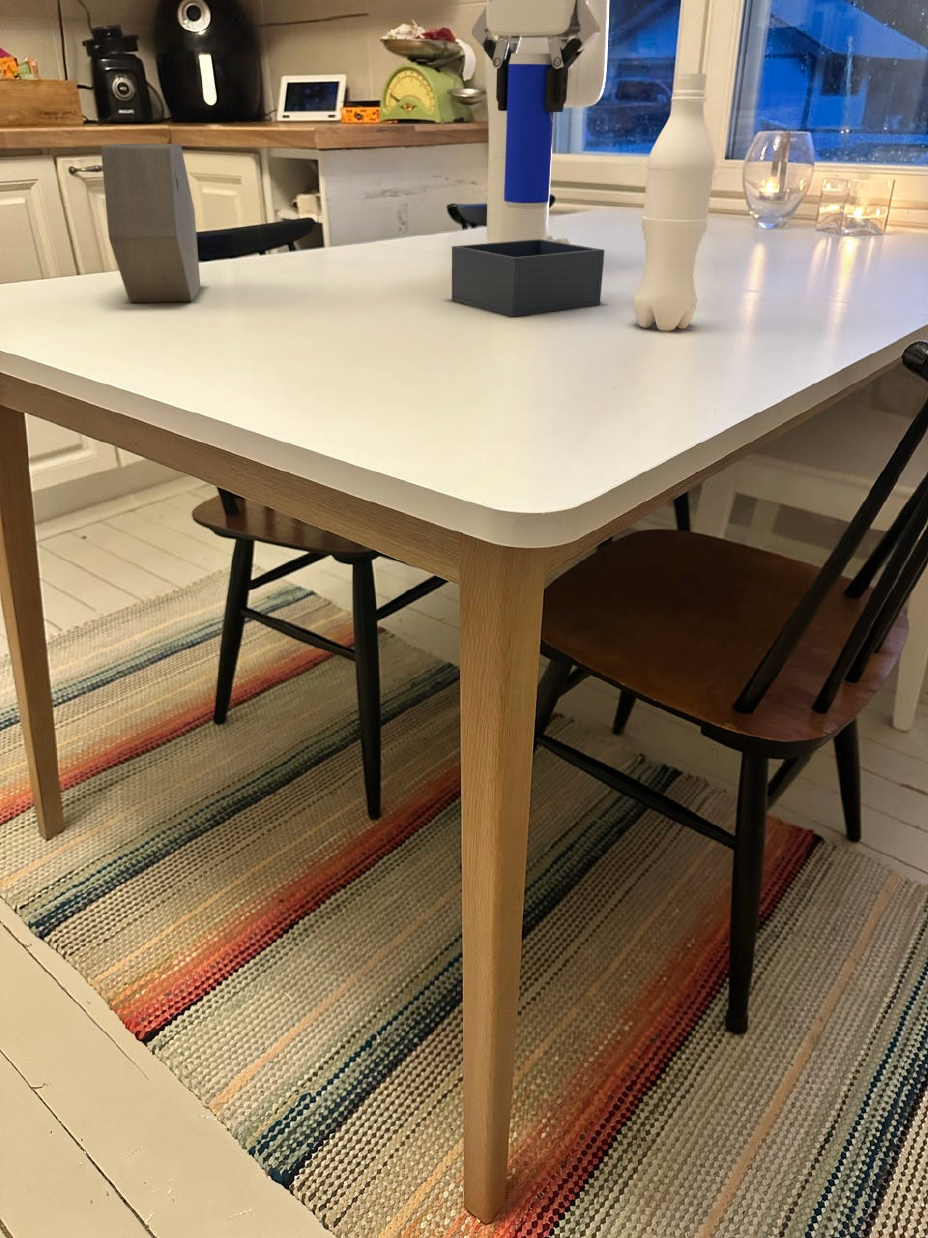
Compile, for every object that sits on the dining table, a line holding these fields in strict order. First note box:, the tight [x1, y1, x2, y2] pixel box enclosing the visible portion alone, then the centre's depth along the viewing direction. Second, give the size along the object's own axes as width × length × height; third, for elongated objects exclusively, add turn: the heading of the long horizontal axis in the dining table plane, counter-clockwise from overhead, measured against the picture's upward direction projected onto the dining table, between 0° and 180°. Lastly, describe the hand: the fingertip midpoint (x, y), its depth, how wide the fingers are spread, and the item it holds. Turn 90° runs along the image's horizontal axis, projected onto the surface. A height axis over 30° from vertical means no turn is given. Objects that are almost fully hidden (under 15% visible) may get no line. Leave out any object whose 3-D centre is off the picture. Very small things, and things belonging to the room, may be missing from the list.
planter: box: [100, 143, 201, 304], centre depth 111 cm, size 17×8×21 cm
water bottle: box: [632, 73, 716, 332], centre depth 97 cm, size 7×7×25 cm
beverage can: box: [504, 53, 555, 209], centre depth 99 cm, size 5×5×15 cm
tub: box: [451, 239, 605, 318], centre depth 113 cm, size 15×13×7 cm
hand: (530, 109), depth 98 cm, fingers closed on beverage can, 5 cm apart
